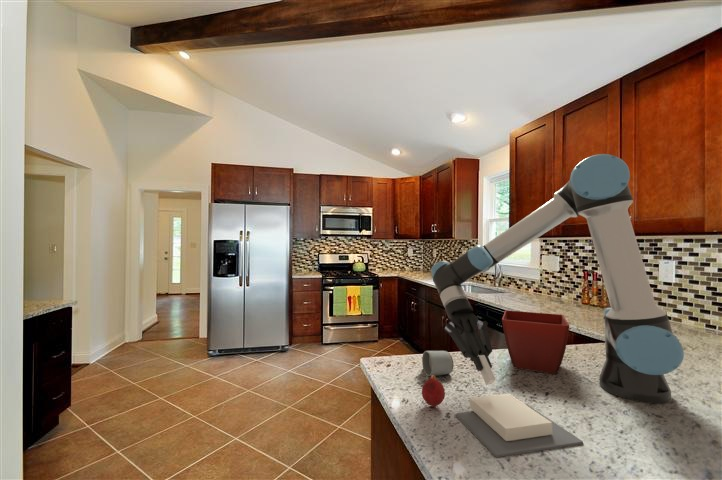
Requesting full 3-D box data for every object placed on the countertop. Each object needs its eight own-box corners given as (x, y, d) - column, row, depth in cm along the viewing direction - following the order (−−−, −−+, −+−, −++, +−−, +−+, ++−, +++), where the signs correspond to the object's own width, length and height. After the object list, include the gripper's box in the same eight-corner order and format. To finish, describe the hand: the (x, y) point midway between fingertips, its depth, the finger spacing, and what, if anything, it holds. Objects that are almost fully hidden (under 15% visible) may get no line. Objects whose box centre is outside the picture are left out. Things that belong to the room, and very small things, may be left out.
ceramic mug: (455, 377, 99) (454, 352, 99) (432, 380, 97) (431, 354, 97) (439, 366, 109) (438, 343, 109) (417, 368, 107) (417, 345, 107)
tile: (508, 393, 80) (551, 422, 66) (508, 404, 80) (552, 435, 66) (469, 397, 78) (506, 428, 64) (469, 409, 78) (506, 442, 64)
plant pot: (565, 361, 112) (563, 313, 112) (571, 381, 95) (569, 325, 95) (506, 353, 121) (505, 309, 121) (503, 370, 104) (501, 319, 104)
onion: (440, 415, 76) (440, 381, 76) (418, 409, 79) (418, 377, 79) (447, 405, 81) (447, 373, 81) (426, 399, 84) (426, 369, 84)
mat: (455, 415, 76) (455, 413, 76) (527, 406, 80) (527, 404, 80) (496, 457, 60) (495, 455, 60) (583, 443, 64) (583, 441, 64)
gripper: (471, 310, 99) (507, 386, 82) (433, 312, 96) (461, 390, 79) (480, 296, 94) (520, 373, 77) (440, 297, 91) (472, 378, 74)
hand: (490, 382), depth 78 cm, fingers closed
